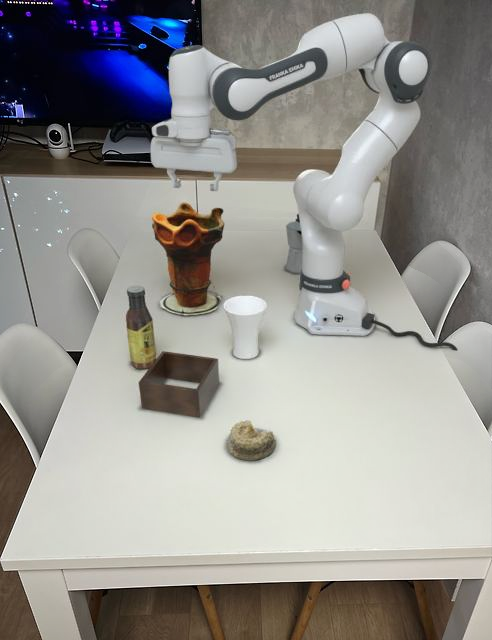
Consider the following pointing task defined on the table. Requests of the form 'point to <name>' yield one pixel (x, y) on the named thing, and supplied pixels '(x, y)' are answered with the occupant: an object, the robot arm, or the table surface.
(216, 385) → the caddy
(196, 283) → the decorative vase
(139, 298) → the sauce bottle
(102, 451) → the table surface
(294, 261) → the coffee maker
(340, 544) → the table surface
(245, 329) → the cup
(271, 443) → the cake
